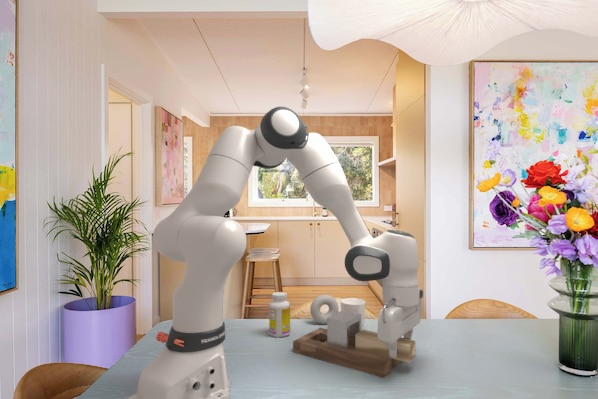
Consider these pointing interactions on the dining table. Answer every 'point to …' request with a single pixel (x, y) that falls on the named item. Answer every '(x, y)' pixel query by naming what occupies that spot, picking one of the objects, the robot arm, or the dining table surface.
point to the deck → (343, 354)
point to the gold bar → (384, 346)
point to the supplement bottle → (279, 315)
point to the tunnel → (342, 329)
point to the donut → (317, 305)
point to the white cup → (354, 307)
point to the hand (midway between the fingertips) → (400, 350)
